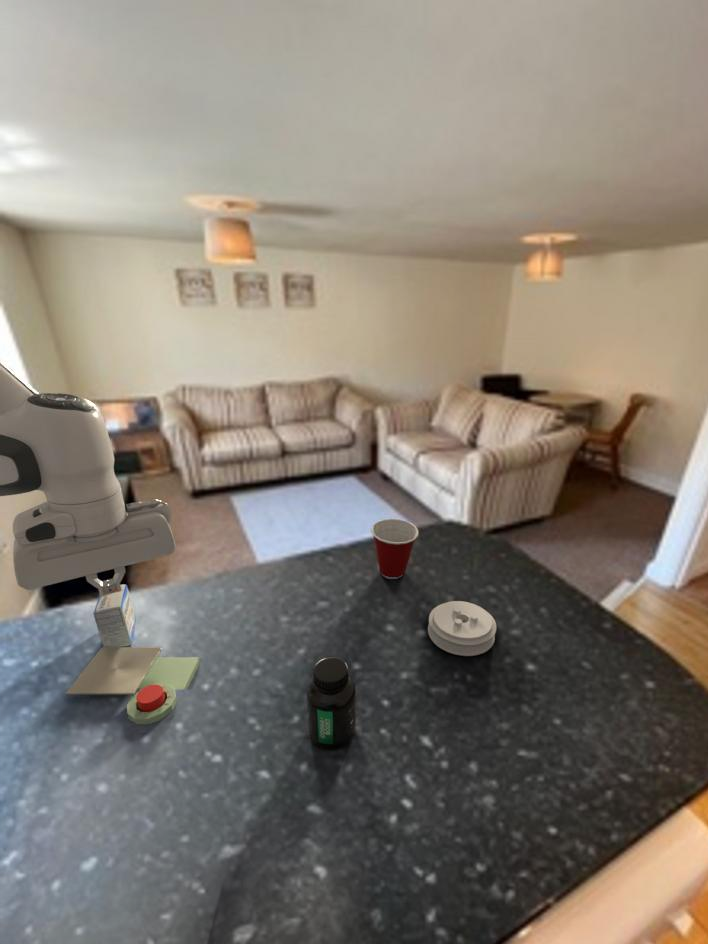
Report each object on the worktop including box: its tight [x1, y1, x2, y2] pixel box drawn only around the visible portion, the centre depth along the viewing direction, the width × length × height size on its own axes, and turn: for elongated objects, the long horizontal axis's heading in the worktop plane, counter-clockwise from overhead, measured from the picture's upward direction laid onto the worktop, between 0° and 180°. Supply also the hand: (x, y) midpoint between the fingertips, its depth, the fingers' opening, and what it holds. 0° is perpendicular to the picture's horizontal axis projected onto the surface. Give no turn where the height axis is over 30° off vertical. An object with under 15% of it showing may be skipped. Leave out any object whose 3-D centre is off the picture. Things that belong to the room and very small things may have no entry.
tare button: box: [136, 684, 166, 712], centre depth 66 cm, size 4×4×2 cm
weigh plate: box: [65, 646, 163, 696], centre depth 72 cm, size 10×10×1 cm
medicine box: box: [93, 584, 137, 647], centre depth 82 cm, size 8×4×9 cm, turn 22°
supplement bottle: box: [306, 656, 357, 751], centre depth 64 cm, size 7×7×12 cm
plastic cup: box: [370, 518, 419, 577], centre depth 103 cm, size 11×11×12 cm
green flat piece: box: [126, 656, 201, 725], centre depth 70 cm, size 16×14×3 cm
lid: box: [427, 600, 497, 657], centre depth 85 cm, size 13×13×5 cm
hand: (110, 592), depth 69 cm, fingers closed
